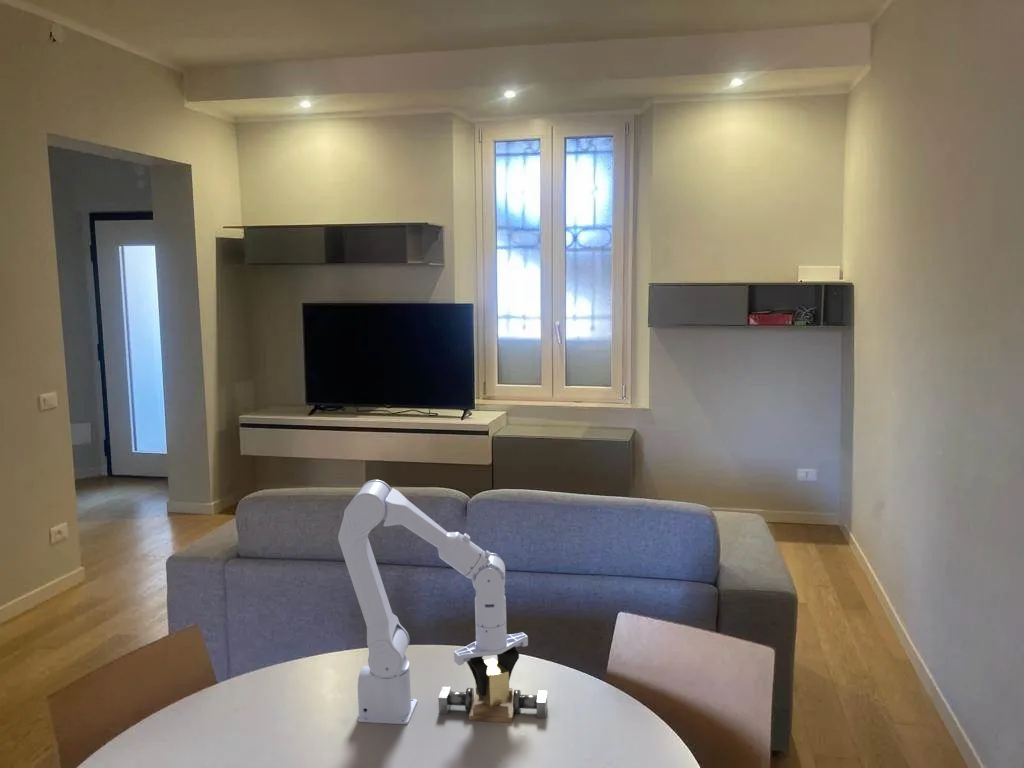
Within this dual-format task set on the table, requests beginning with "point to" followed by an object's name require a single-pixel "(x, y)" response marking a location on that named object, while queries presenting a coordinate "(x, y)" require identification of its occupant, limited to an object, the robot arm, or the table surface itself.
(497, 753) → the table surface
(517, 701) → the shaft stand
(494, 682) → the block
